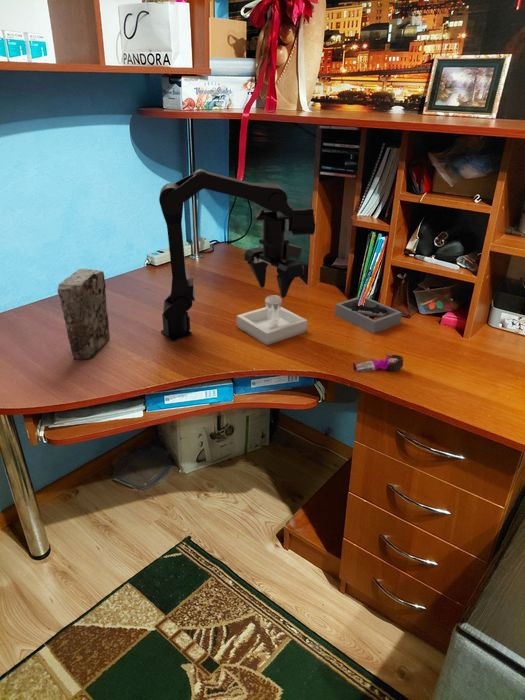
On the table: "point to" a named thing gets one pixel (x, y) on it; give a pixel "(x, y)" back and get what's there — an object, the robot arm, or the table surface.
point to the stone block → (85, 312)
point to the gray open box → (365, 322)
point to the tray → (258, 328)
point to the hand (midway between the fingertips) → (272, 292)
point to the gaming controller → (369, 310)
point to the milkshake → (273, 310)
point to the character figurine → (381, 364)
